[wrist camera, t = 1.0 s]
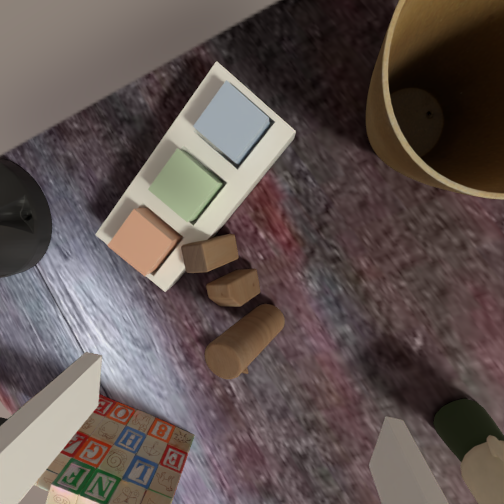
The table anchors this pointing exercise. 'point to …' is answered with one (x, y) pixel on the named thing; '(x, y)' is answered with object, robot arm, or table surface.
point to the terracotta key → (144, 240)
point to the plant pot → (442, 95)
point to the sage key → (185, 185)
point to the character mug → (474, 448)
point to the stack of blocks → (118, 459)
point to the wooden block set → (233, 294)
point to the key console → (193, 142)
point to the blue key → (232, 123)
